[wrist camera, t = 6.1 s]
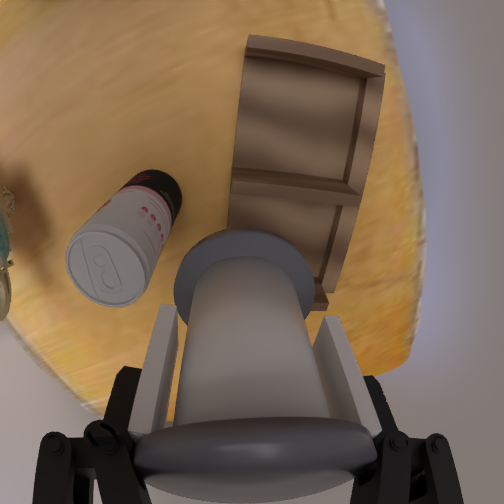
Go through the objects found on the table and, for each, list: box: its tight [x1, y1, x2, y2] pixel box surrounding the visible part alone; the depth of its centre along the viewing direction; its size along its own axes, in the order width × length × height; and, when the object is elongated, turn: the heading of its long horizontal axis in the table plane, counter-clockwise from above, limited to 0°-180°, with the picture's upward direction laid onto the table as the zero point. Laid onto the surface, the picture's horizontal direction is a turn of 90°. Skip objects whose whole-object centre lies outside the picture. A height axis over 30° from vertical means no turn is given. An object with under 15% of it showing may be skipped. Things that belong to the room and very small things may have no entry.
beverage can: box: [66, 170, 182, 307], centre depth 24 cm, size 7×6×15 cm
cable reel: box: [133, 227, 377, 503], centre depth 12 cm, size 8×8×12 cm
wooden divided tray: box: [227, 34, 386, 311], centre depth 28 cm, size 27×14×6 cm, turn 174°
